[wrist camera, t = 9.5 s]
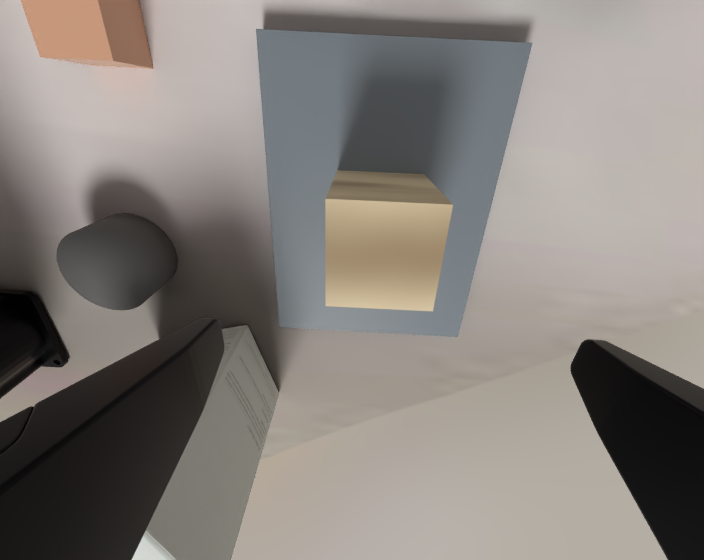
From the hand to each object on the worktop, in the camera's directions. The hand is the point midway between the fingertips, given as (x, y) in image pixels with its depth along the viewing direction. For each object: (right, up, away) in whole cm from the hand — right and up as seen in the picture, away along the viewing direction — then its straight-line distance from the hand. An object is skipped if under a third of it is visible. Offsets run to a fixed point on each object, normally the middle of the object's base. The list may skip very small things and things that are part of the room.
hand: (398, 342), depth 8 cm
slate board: (0, +6, +11) cm, 12 cm away
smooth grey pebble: (-15, +3, +12) cm, 20 cm away
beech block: (0, +5, +10) cm, 11 cm away
